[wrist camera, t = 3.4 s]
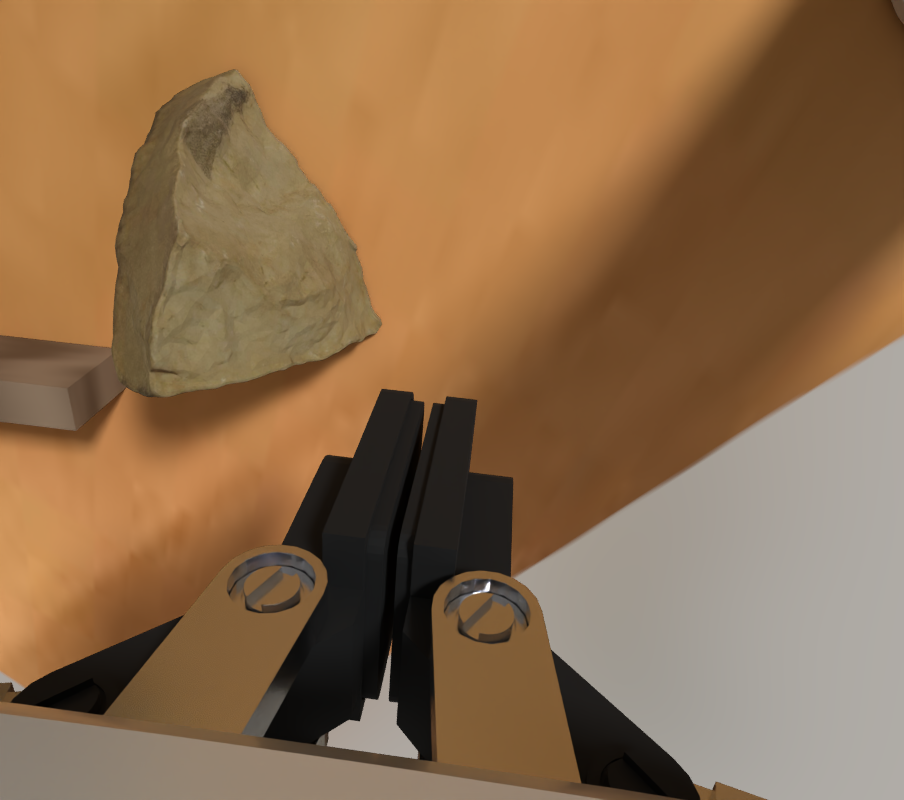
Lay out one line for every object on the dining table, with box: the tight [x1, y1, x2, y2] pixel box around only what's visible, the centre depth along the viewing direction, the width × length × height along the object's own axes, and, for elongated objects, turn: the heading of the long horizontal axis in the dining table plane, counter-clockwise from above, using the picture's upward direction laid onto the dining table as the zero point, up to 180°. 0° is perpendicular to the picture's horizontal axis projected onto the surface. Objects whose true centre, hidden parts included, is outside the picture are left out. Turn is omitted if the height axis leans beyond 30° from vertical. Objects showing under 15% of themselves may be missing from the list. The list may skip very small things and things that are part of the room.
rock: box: [111, 69, 382, 397], centre depth 25 cm, size 11×9×10 cm
